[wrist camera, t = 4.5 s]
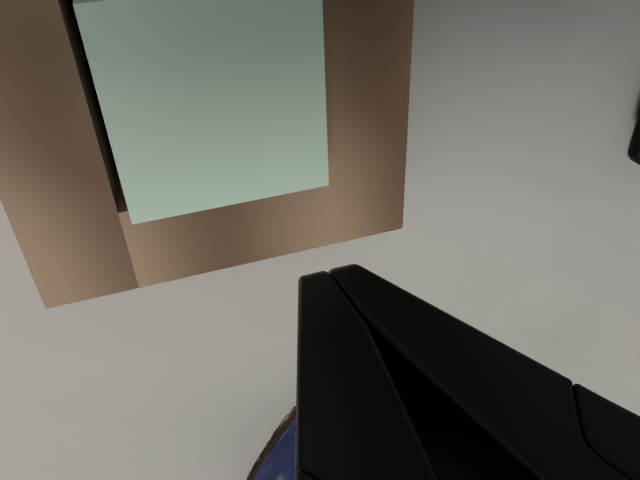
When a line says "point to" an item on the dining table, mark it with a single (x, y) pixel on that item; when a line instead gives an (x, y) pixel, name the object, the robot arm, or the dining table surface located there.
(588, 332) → the dining table surface
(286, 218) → the button panel
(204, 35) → the sage button
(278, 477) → the flask
